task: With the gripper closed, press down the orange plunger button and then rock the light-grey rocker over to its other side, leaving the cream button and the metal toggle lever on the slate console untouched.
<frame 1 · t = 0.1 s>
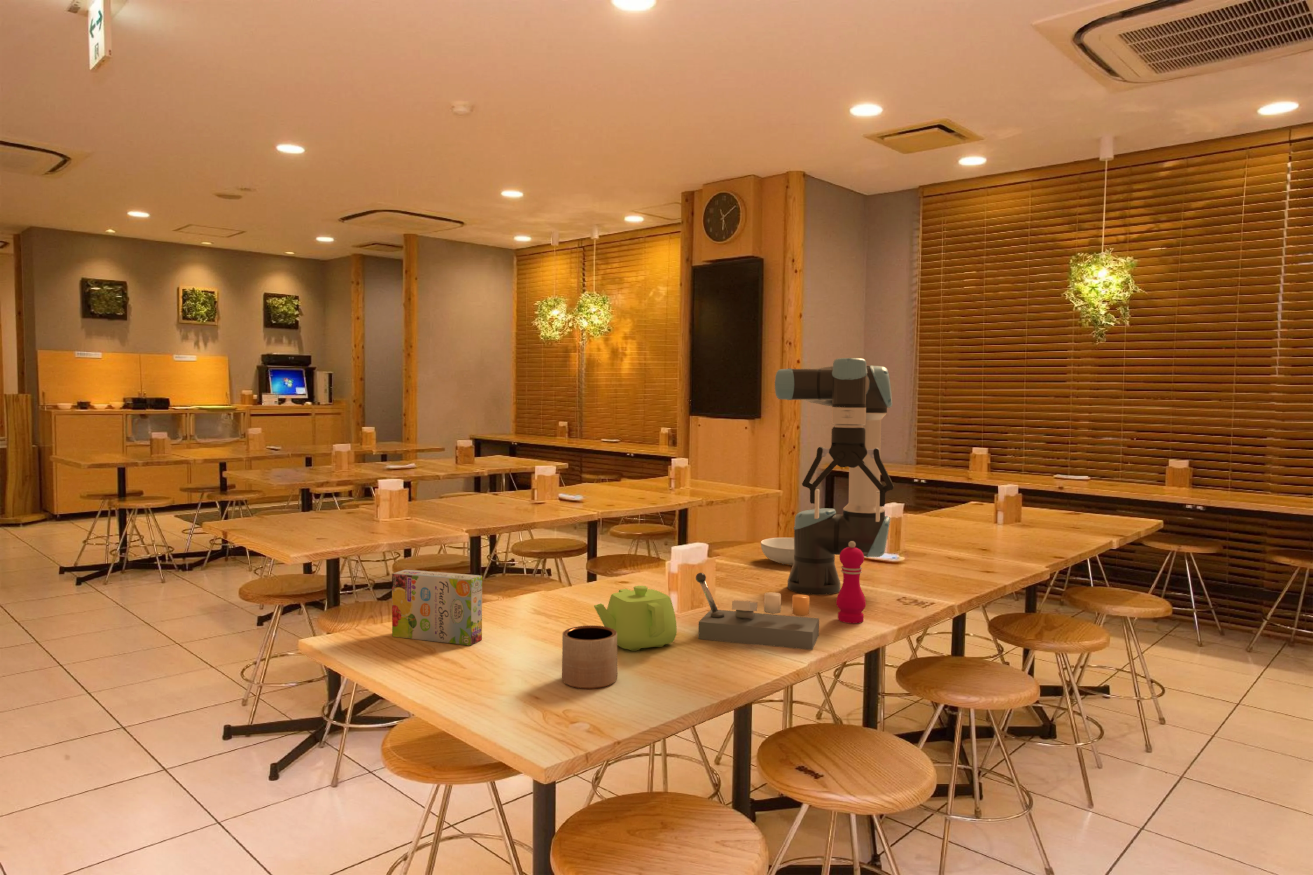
hand: (846, 519, 189), 28 cm above the table, fingers open, 13 cm apart
rocker: (744, 605, 194), point 7 cm above the table, hinge at -14.0°
planter: (589, 681, 163), on the table
serving bowl: (791, 563, 280), on the table
console: (759, 636, 193), on the table
button orange: (800, 605, 190), point 8 cm above the table, slide at 0.0 cm
pepper mill: (850, 620, 208), on the table
snack box: (436, 639, 191), on the table
lever: (707, 592, 196), point 10 cm above the table, hinge at 25.0°
teapot: (632, 645, 187), on the table
button cream: (772, 602, 192), point 8 cm above the table, slide at 0.0 cm
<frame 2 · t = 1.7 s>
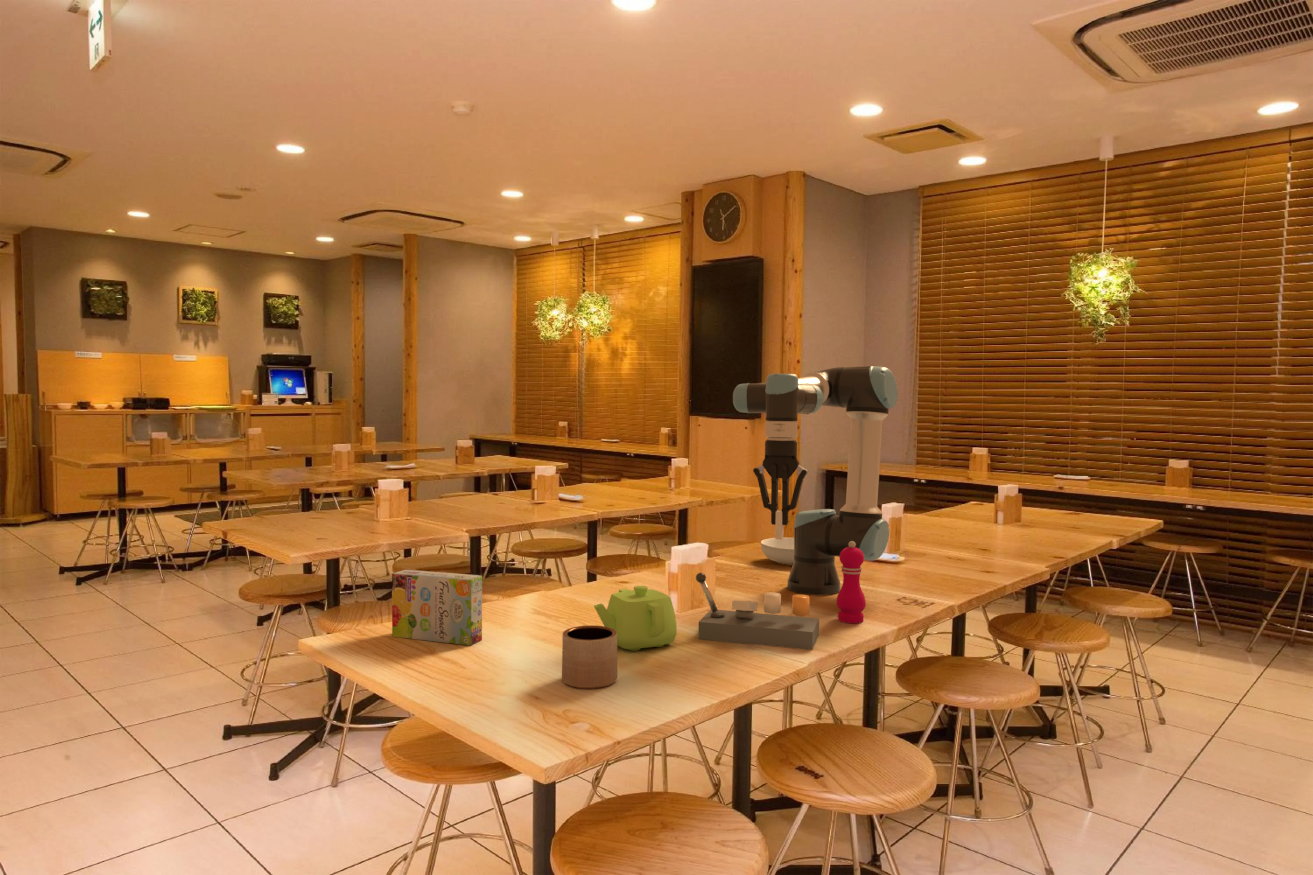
hand: (779, 538, 197), 22 cm above the table, fingers closed
nothing on the table moved.
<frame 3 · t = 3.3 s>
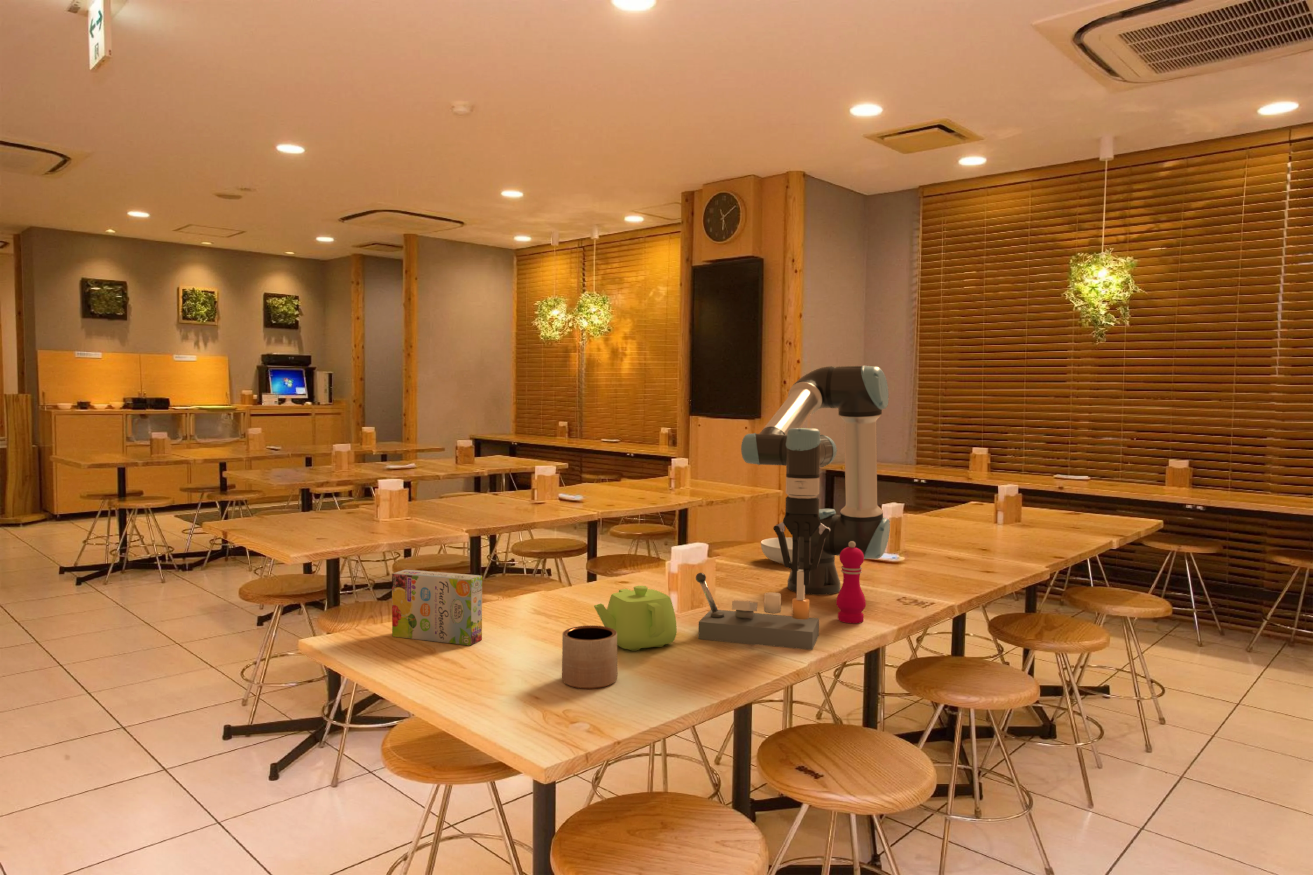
hand: (800, 598, 189), 10 cm above the table, fingers closed
button orange: (800, 608, 190), point 8 cm above the table, slide at 0.8 cm, touching gripper
everything else where it was.
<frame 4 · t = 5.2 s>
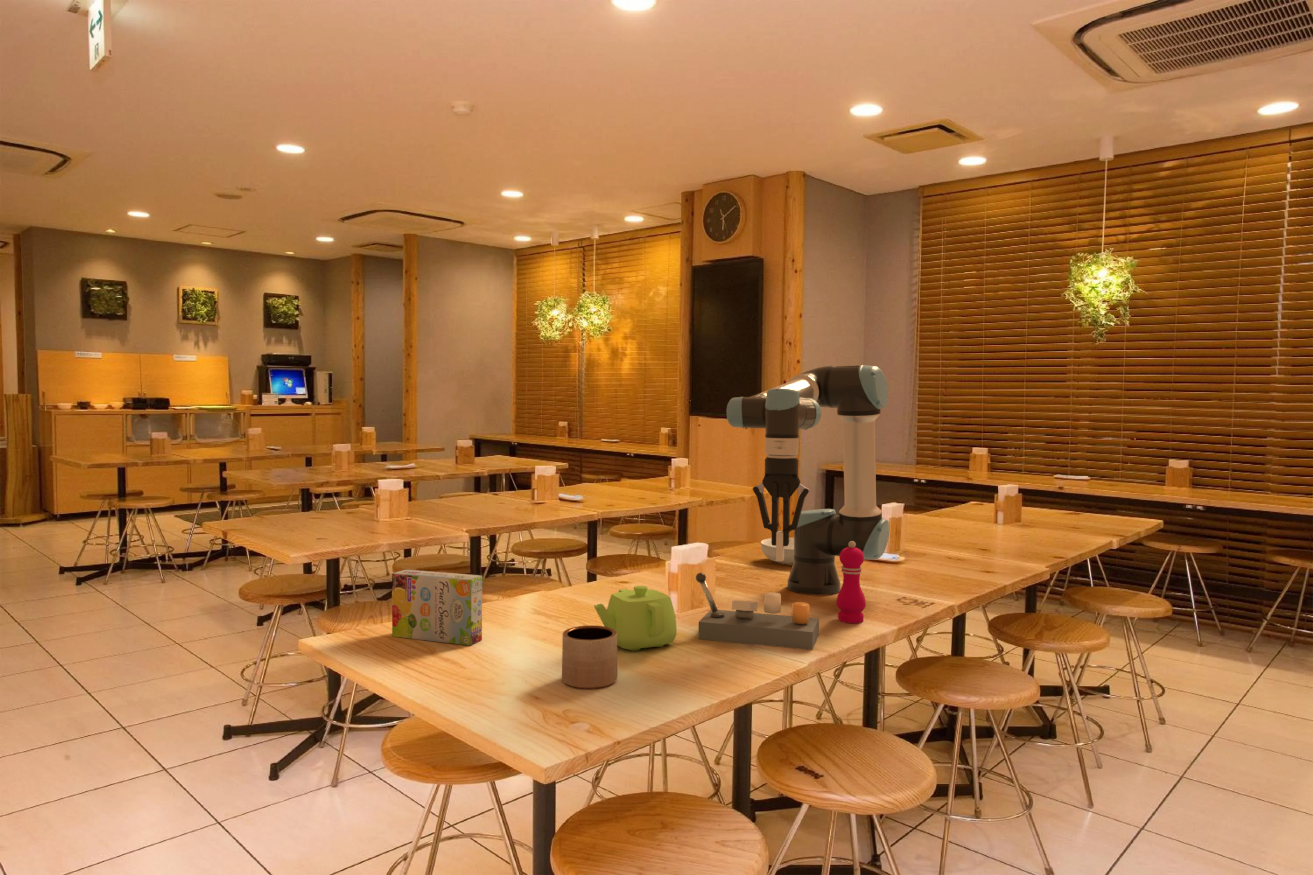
hand: (780, 559, 189), 19 cm above the table, fingers closed
button orange: (800, 612, 190), point 7 cm above the table, slide at 1.8 cm
everything else where it was.
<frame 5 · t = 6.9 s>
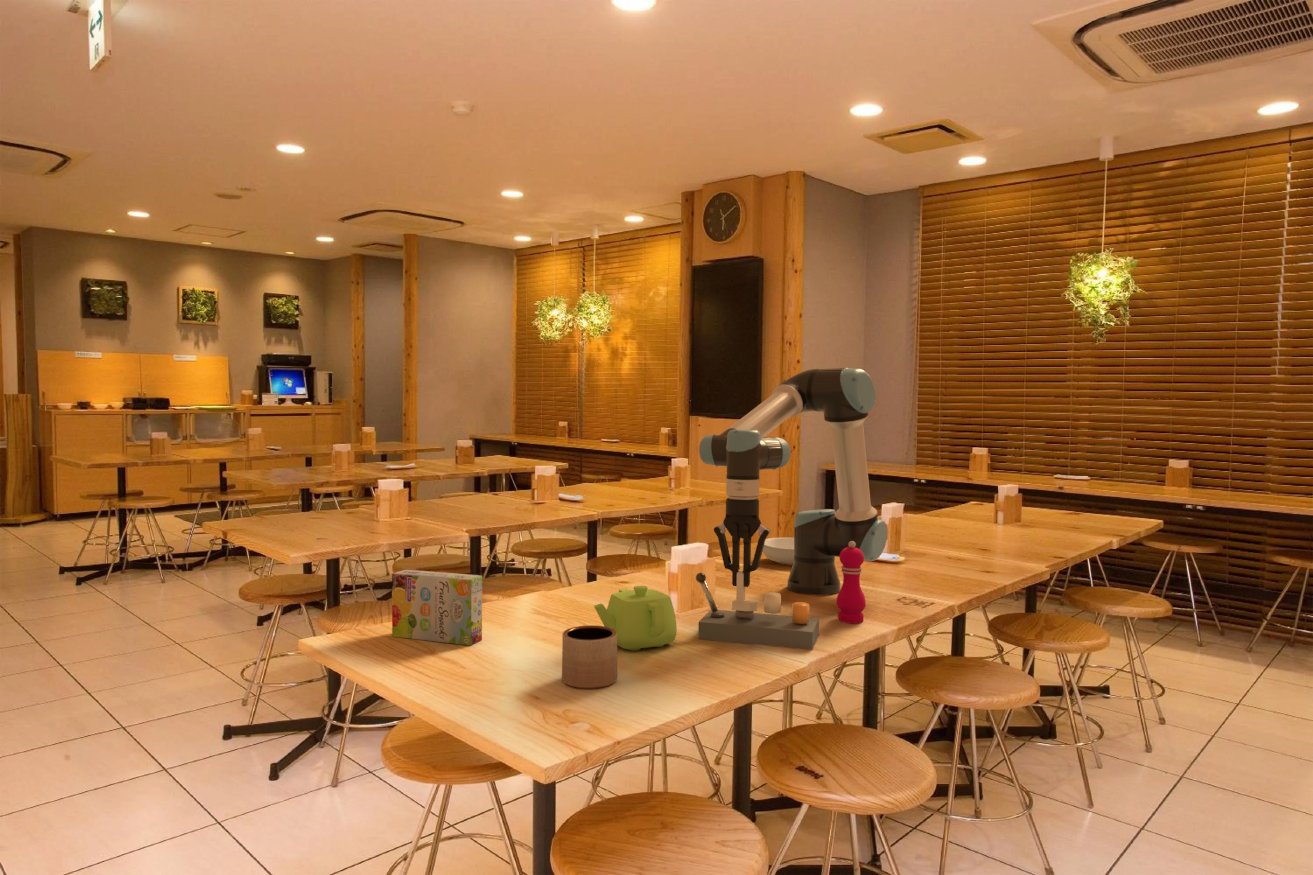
hand: (740, 600, 189), 9 cm above the table, fingers closed
rocker: (744, 605, 194), point 7 cm above the table, hinge at -12.8°, touching gripper
everything else where it was.
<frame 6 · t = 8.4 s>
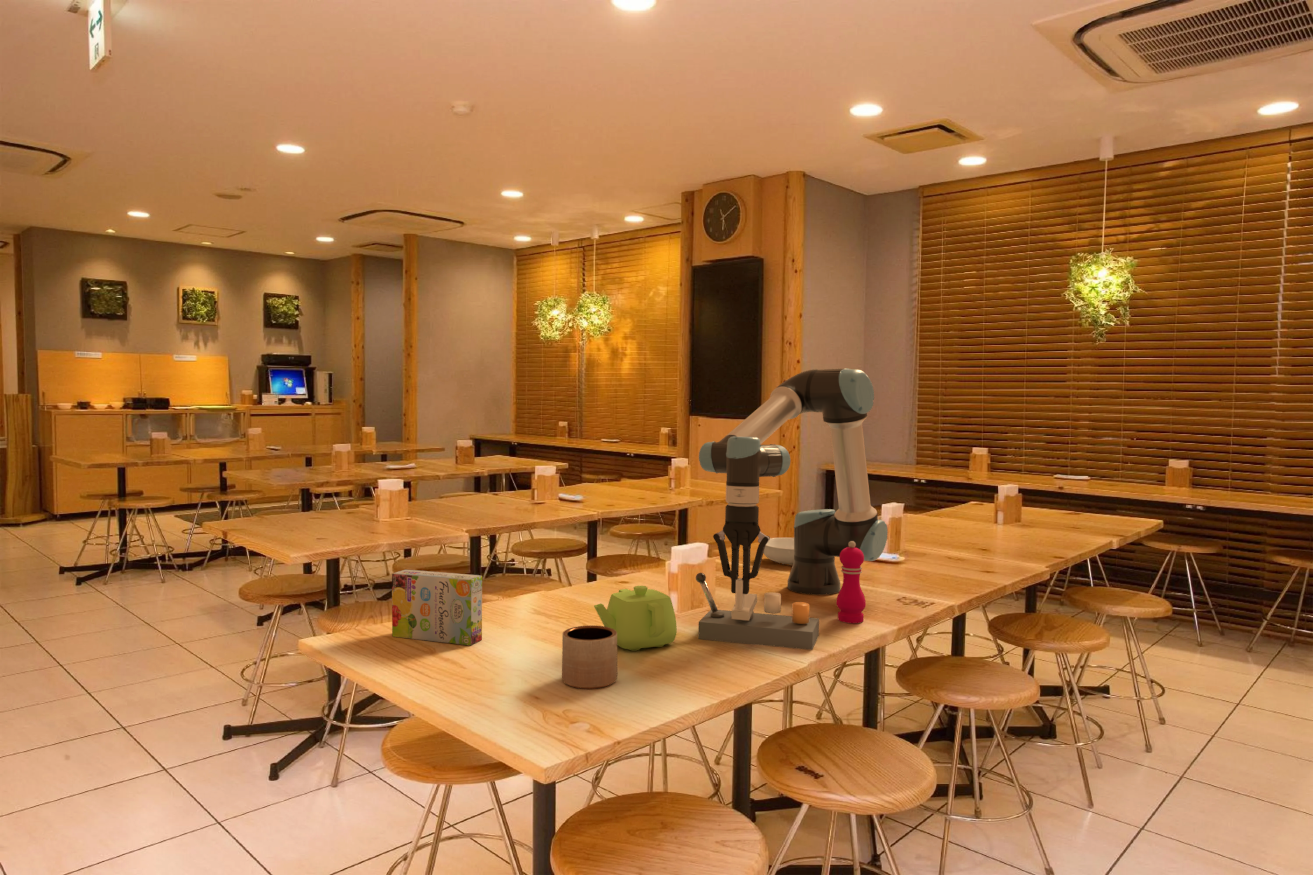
hand: (739, 607, 189), 8 cm above the table, fingers closed
rocker: (744, 605, 193), point 7 cm above the table, hinge at 11.2°, touching gripper
everything else where it was.
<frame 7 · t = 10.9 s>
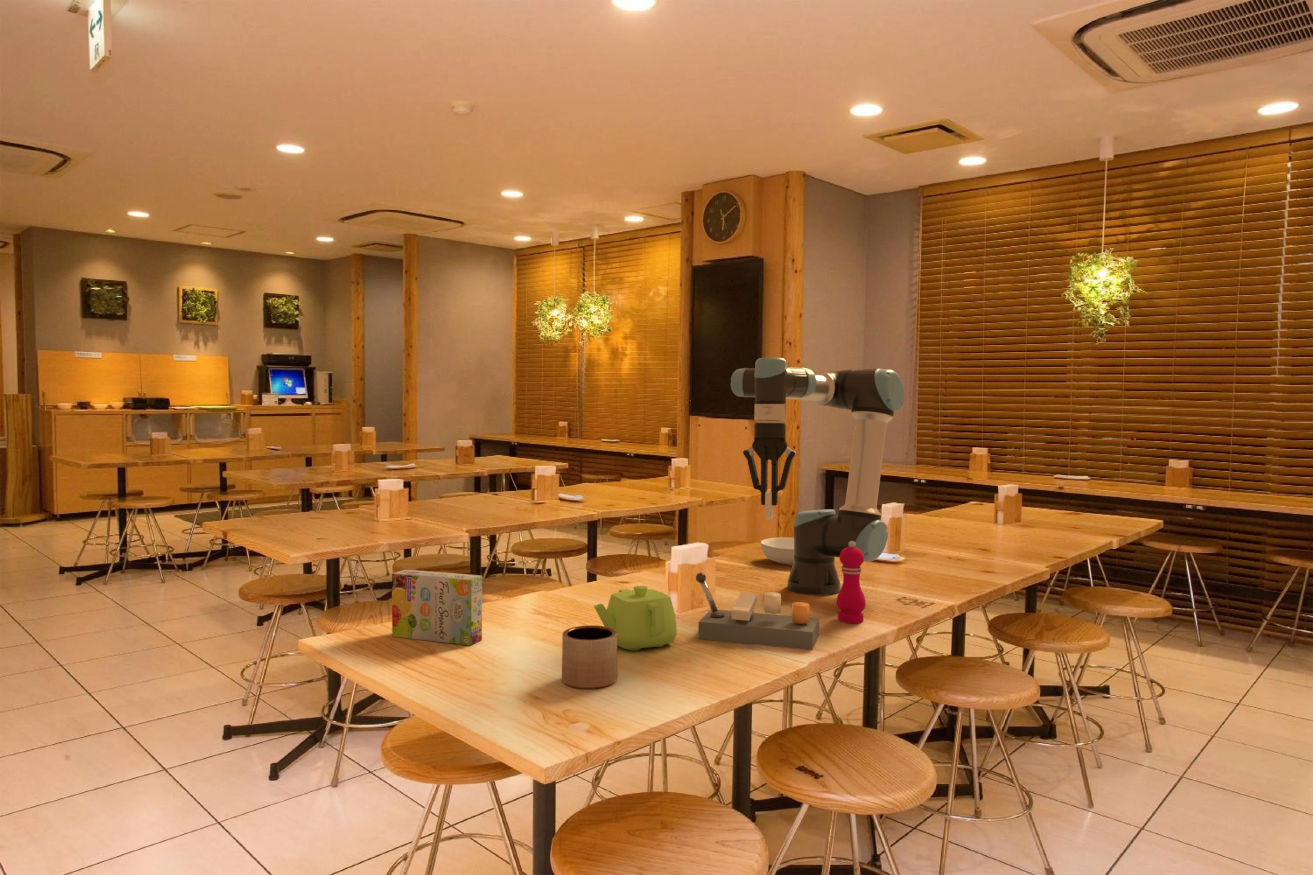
hand: (769, 518, 202), 26 cm above the table, fingers closed
rocker: (744, 605, 193), point 7 cm above the table, hinge at 11.9°
everything else where it was.
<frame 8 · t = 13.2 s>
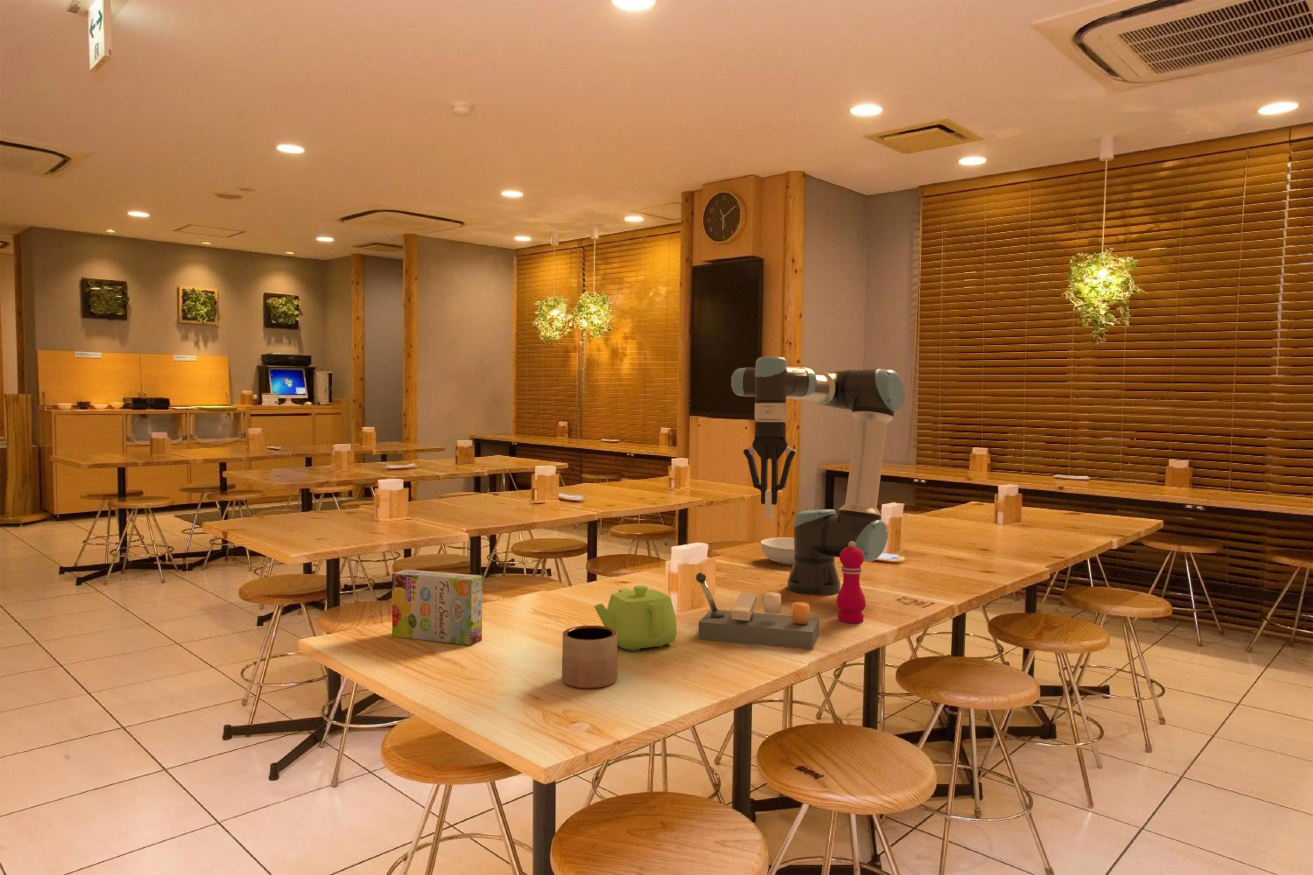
hand: (769, 517, 202), 26 cm above the table, fingers closed
nothing on the table moved.
at the end: button orange slide at 1.8 cm; rocker at +12° (first picture: -14°); button cream slide at 0.0 cm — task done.
